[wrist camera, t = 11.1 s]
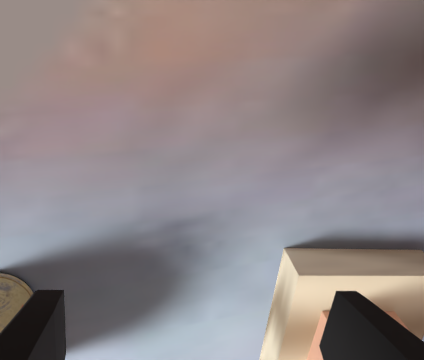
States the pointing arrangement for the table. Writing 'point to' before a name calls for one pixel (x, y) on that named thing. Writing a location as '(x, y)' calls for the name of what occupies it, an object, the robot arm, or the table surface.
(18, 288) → the yellow package
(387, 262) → the birch block
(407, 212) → the table surface
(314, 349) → the terracotta block
